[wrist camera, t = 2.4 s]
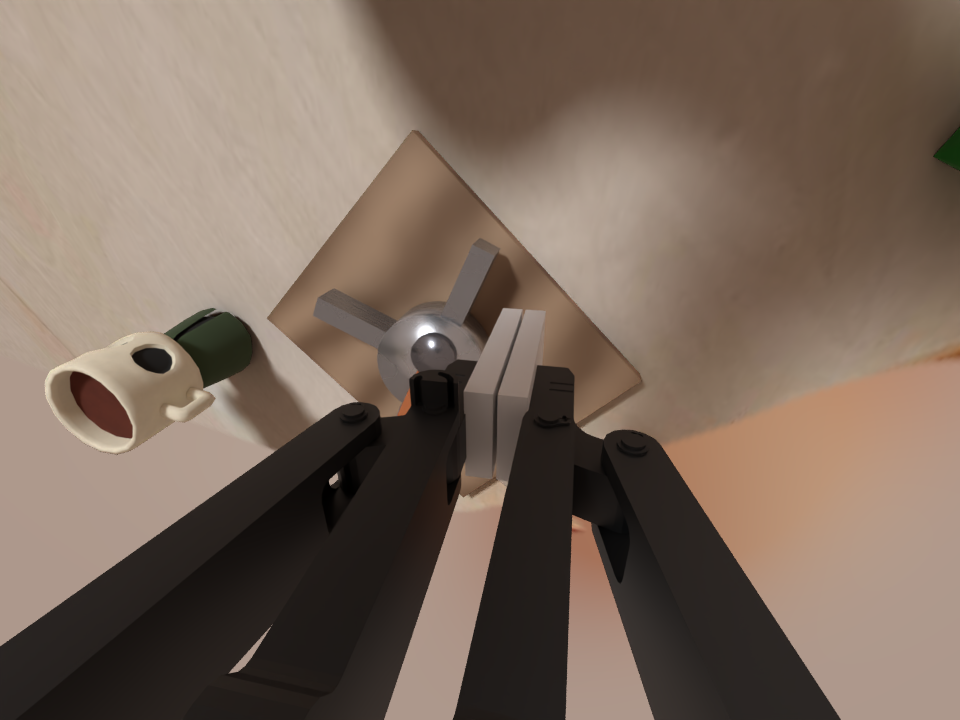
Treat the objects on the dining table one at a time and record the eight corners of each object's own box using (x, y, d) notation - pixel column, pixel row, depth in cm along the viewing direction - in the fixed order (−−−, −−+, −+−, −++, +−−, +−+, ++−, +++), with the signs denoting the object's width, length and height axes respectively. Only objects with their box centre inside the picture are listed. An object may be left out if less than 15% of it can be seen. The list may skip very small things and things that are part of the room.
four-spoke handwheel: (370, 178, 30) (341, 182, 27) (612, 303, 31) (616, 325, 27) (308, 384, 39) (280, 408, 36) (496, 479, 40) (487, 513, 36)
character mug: (281, 319, 39) (156, 391, 27) (281, 386, 42) (169, 475, 31) (170, 286, 40) (4, 343, 28) (179, 354, 43) (33, 430, 31)
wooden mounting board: (275, 313, 39) (242, 331, 35) (418, 130, 30) (395, 128, 26) (466, 488, 43) (455, 521, 39) (639, 373, 34) (647, 401, 30)
